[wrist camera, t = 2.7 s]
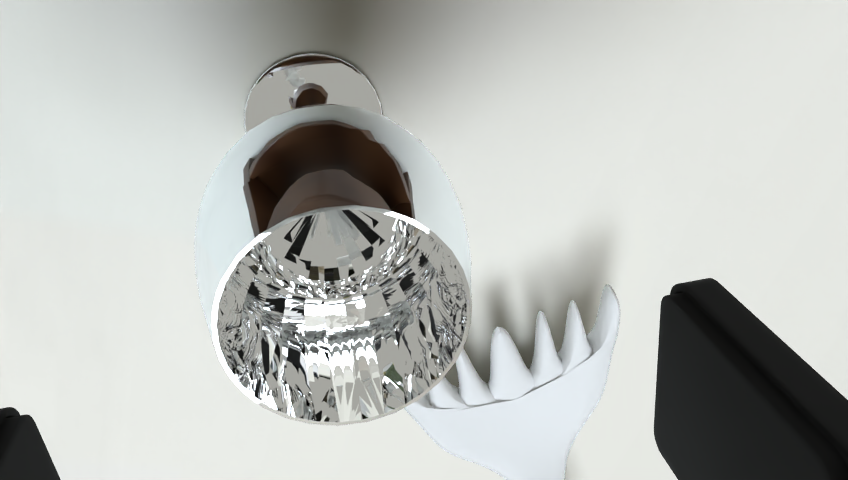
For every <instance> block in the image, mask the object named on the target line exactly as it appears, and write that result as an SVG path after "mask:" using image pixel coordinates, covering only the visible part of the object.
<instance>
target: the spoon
mask: <svg viewBox="0 0 848 480" xmlns="http://www.w3.org/2000/svg"><path fill="white" fill-rule="evenodd" d="M619 324H620V306H619V302H618V299H617V296H616V294H615V292H614V290H613V289H612V287H611V286H610V285H607V284H606V285H605V287H604V289H603V292H602V296H601V300H600V305H599V310H598V314H597V318H596V322H595V325H594V326H593V328H592V330H591V331H590V332H589V333H588V334H587V335H586V334H585V330H584V326H583V323H582V319H581V316H580V312H579V310H578V307H577V305H576V302H575V301H573V300H571V302H570V304H569V308H568V313H567V321H566V328H565V334H564V339H563V343H562V347H561V349H560V350H559V352H558V353H557V352H556V349H555V346H554V342H553V339H552V335H551V332H550V329H549V325H548V322H547V319H546V317H545V315H544V313H543V312H541V311H539V312H538V314H537V320H536V333H535V348H534V355H533V362H532V364H531V366H530V368H529V369H528V368H527V367H526V365H525V363H524V361H523V360H522V358H521V356H520V354H519V351H518V349H517V347H516V345H515V343H514V342H513V340H512V338H511V336H510V334H509V333H508V332H507V331H506V330H505V329H504V328H502V327H496V329H495V330H494V331H493V335H492V339H491V356H490V380H489V383H488V384H487V383H485V382H484V381H482V379H481V378H480V376H479V375H478V373H477V372H476V370H475V368H474V367H473V365H472V363H471V361H470V359H469V357H468V356H467V354H466V352H465V350H464V348H463V349H462V351H461V353H460V355H459V357H458V359H457V361H456V366H457V372H458V379H459V388H457V387H455V386H453V385H451V384H450V382H449V381H448V380H447V379H446V378H445V376H444V377H443V379H442V380H441V381H440V382H439V383H438V384H437V385H436V386H435V387H433V388H432V389H431V390H430V391H429V392H427V393H426V394H425V395H424V396H423V397H421V398H420V399H419V400H418V401H416V402H414V403H412V404H410V405H408V406H406V407H405V408H404V409H405V410H406V411H407V412H408V413H409V414H410V416H411V417H412V418H413V419H414V420H415V421H416V422H417V423H418V424H419V425H420V426H421V427H422V428H423V430H424V431H425V432H426V433H427V434H428V435H429V436H430V437H431V439H432V440H433V441H434V442H435V443H436V444H437V445H439V446H440V447H441V448H442V449H444V450H445V451H447V452H448V453H450V454H452V455H454V456H456V457H459V458H462V459H464V460H467V461H470V462H473V463H476V464H478V465H481V466H483V467H486V468H488V469H490V470H492V471H494V472H496V473H497V474H499V475H500V476H502V477H503V478H504V479H506V480H565V468H566V460H567V457H568V454H569V451H570V448H571V446H572V444H573V442H574V440H575V438H576V436H577V435H578V433H579V431H580V430H581V428H582V427H583V425H584V424H585V422H586V421H587V419H588V418H589V416H590V415H591V413H592V412H593V410H594V409H595V408H596V406H597V404H598V402H599V401H600V399H601V396H602V394H603V392H604V388H605V385H606V381H607V376H608V371H609V366H610V361H611V357H612V353H613V349H614V345H615V342H616V339H617V336H618V329H619Z"/></svg>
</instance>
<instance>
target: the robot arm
mask: <svg viewBox="0 0 848 480" xmlns="http://www.w3.org/2000/svg"><path fill="white" fill-rule="evenodd" d="M654 435H655V440H656V444H657V446H658V449H659V451H660V453H661V454H662V456H663V457H664V459H665V460H666V462H667V464H668V465H669V467H670V468H671V470H672V471H673V473H674V474H675V476H676V477H677V479H678V480H848V400H847V399H846V398H845V397H844V396H842V395H841V394H840V393H839V392H838V391H837V390H836V389H835V388H834V387H833V386H832V385H830V384H829V383H828V382H827V381H826V380H825V379H824V378H823V377H822V376H821V375H819V374H818V373H817V372H816V371H815V370H814V369H813V368H812V367H811V366H810V365H808V364H807V363H806V362H805V361H804V360H803V359H802V358H801V357H800V356H799V355H797V354H796V353H795V352H794V351H793V350H792V349H791V348H790V347H789V346H788V345H787V344H785V343H784V342H783V341H782V340H781V339H780V338H779V337H778V336H777V335H776V334H774V333H773V332H772V331H771V330H770V329H769V328H768V327H767V326H766V325H765V324H763V323H762V322H761V321H760V320H759V319H758V318H757V317H756V316H755V315H754V314H753V313H751V312H750V311H749V310H748V309H747V308H746V307H745V306H744V305H743V304H742V303H740V302H739V301H738V300H737V299H736V298H735V297H734V296H733V295H732V294H731V293H729V292H728V291H727V290H726V289H725V288H724V287H723V286H722V285H721V284H720V283H719V282H717V281H716V280H714V279H712V278H707V279H702V280H696V281H691V282H686V283H680V284H676V285H674V286H673V288H672V290H671V293H670V295H667V296H664V297H663V299H662V301H661V312H660V329H659V347H658V364H657V382H656V400H655V417H654ZM0 480H60V477H59V475H58V473H57V471H56V468H55V466H54V464H53V462H52V459H51V457H50V455H49V453H48V450H47V448H46V446H45V444H44V441H43V439H42V437H41V435H40V432H39V430H38V428H37V426H36V423H35V422H34V420H33V418H32V417H31V416H30V415H21V416H20V414H19V412H18V411H17V410H16V409H14V408H11V407H7V408H2V409H0Z"/></svg>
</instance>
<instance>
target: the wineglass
mask: <svg viewBox="0 0 848 480" xmlns="http://www.w3.org/2000/svg"><path fill="white" fill-rule="evenodd" d="M244 129H245V133H246V134H245V135H244V136H243V137H242V138H241V139H240V140H239V141H238V142H237V143H236V144H235V145H234V146H233V147H232V148H231V149H230V150H229V151H228V152H227V153H226V155H225V156H224V158H223V159H222V161H221V162H220V164H219V165H218V167H217V168H216V170H215V171H214V173H213V175H212V177H211V179H210V181H209V182H208V184H207V186H206V189H205V192H204V195H203V198H202V201H201V204H200V208H199V212H198V217H197V222H196V230H195V239H194V254H195V272H196V280H197V286H198V292H199V298H200V302H201V305H202V309H203V312H204V315H205V319H206V322H207V326H208V329H209V332H210V336H211V339H212V342H213V345H214V348H215V350H216V353H217V355H218V358H219V360H220V362H221V364H222V365H223V367H224V369H225V371H226V372H227V374H228V376H229V377H230V379H231V380H232V381H233V382H234V383H235V384H236V385H237V386H238V387H239V389H240V390H241V391H242V392H243V393H244V394H245V395H247V396H248V397H249V398H251V399H252V400H253V401H255V402H256V403H258V404H259V405H260V406H262V407H263V408H265V409H267V410H270V411H272V412H274V413H276V414H278V415H280V416H283V417H285V418H288V419H292V420H296V421H300V422H304V423H308V424H320V425H336V426H339V425H347V424H354V423H362V422H368V421H372V420H375V419H378V418H381V417H384V416H387V415H390V414H393V413H395V412H397V411H399V410H401V409H403V408H405V407H406V406H408V405H410V404H412V403H414V402H416V401H418V400H419V399H420V398H421V397H423V396H424V395H425V394H426V393H427V392H429V391H430V390H431V389H432V388H433V387H435V386H436V385H437V384H438V383H439V382H440V381H441V380H442V379H443V377H444V376H445V375H446V374H447V372H448V371H449V370H450V368H451V367H452V366H453V365H454V363H455V362H456V361H457V359H458V357H459V355H460V353H461V351H462V349H463V347H464V344H465V342H466V339H467V336H468V332H469V328H470V324H471V311H472V293H471V266H472V262H471V254H470V246H469V237H468V231H467V227H466V223H465V219H464V215H463V211H462V207H461V204H460V202H459V199H458V197H457V195H456V192H455V190H454V188H453V185H452V183H451V181H450V179H449V177H448V176H447V174H446V172H445V171H444V169H443V167H442V166H441V164H440V163H439V161H438V160H437V159H436V157H435V156H434V155H433V154H432V152H431V151H430V150H429V149H428V148H427V147H426V146H425V145H424V144H423V143H422V142H421V141H420V140H418V139H417V138H416V137H415V136H414V135H413V134H411V133H410V132H409V131H408V130H407V129H405V128H403V127H402V126H400V125H398V124H397V123H395V122H394V121H392V120H390V119H389V118H387V117H385V116H383V115H382V108H381V103H380V101H379V98H378V96H377V93H376V91H375V89H374V87H373V86H372V85H371V83H370V82H369V80H368V79H367V78H366V76H365V75H363V74H362V73H361V72H360V71H359V70H358V69H357V68H356V67H354V66H353V65H351V64H349V63H347V62H345V61H344V60H342V59H339V58H336V57H333V56H329V55H326V54H313V53H309V54H301V55H295V56H292V57H289V58H286V59H283V60H282V61H280V62H278V63H276V64H274V65H273V66H271V67H270V68H269V69H268V70H266V71H265V72H264V73H263V74H262V75H261V76H260V77H259V79H258V80H257V81H256V82H255V84H254V85H253V87H252V89H251V91H250V93H249V96H248V99H247V103H246V106H245V110H244Z"/></svg>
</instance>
